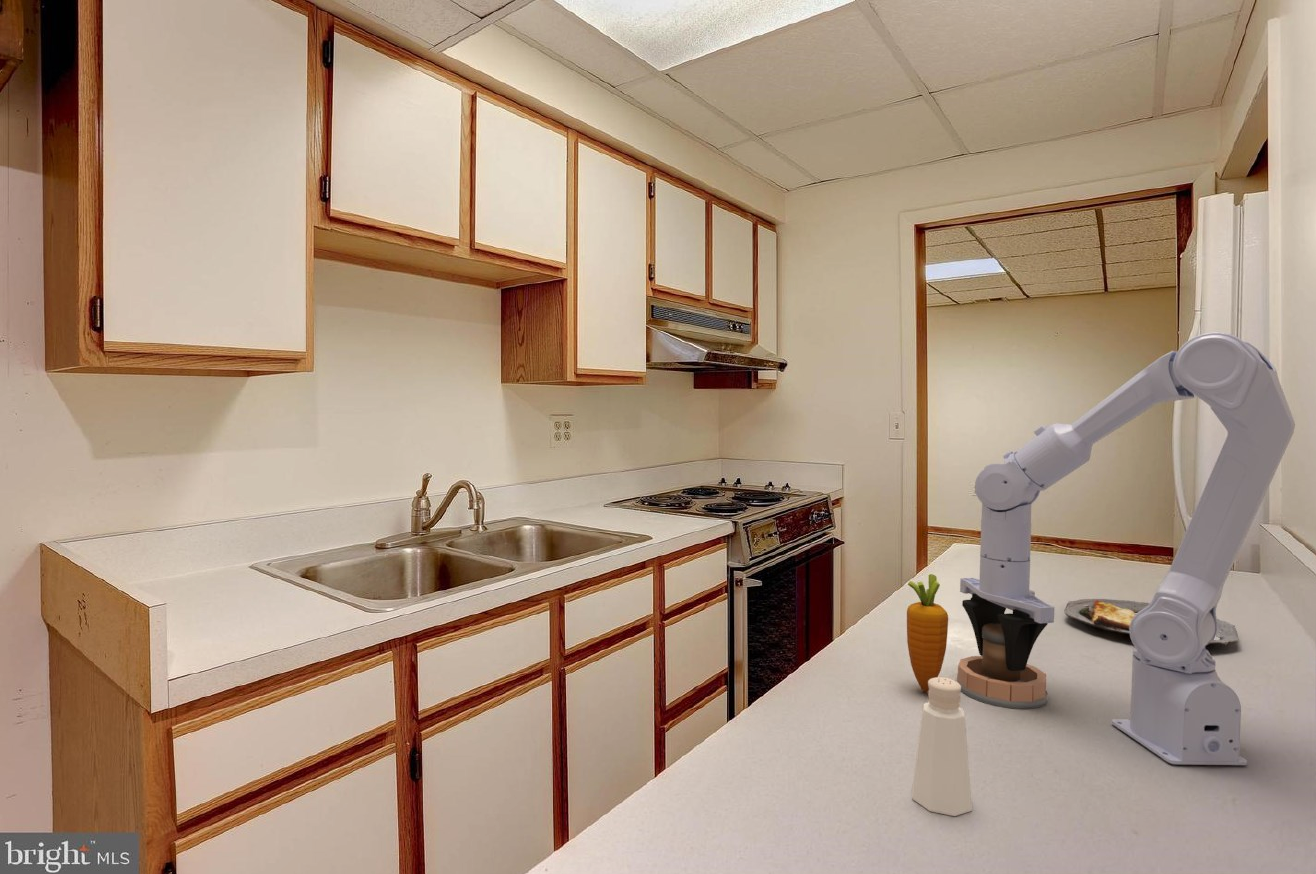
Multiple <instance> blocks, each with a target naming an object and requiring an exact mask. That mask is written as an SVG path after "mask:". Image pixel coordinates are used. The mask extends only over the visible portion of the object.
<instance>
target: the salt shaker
mask: <svg viewBox="0 0 1316 874" xmlns="http://www.w3.org/2000/svg"><path fill="white" fill-rule="evenodd" d="M928 686H929V691H928V702H925V703H923V705H922V712H921V720H920V727H919V735H918V741H917V750H916V758H915V765H914V766H915V767H914V772H913V779H912V780H913V781H912V788H911V789H912V790H911V791H912V795H911V796H912V801H914V802H916V803H917V804H919V805H920V806H921V807H922V808H925V809H926V810H928V811H929V812H932V813H936V814H942V815H946V816H951V817H956V816H961V815H963V814H967V813H970V812H972V810H973V804H972V792H971V791H972V789H971V778H970V777H971V776H970V766H969V751H968V739H967V726H966V716H965V711H964V709H963V708H961V707H960V703H959V702H961V695H960V693H961V685H960V684H959V683H958V682H957V680H953V679H951V678H948V677H942V676H938V677H936V678H931V679H930V680H929V681H928Z"/></svg>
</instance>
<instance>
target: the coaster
mask: <svg viewBox="0 0 1316 874" xmlns="http://www.w3.org/2000/svg"><path fill="white" fill-rule="evenodd" d="M982 659H983V656H981V655H974V656H973V655H972V656H968V657H964V658H961V659H960V660H959V662H958V665H957V677H956V682H958V683H959V684H960V685H961V691H960V693H962V694H963V695H965V696H968V697H969V698H971V699H972V700H973V699H974V700H976V701H979V702H981V703H985V704H988V705H992V706H995V707H996V706H997V707H1001V708H1009V709H1018V710H1028V709H1029V710H1030V709H1036V708H1041V707H1044V706H1045V705H1046V704H1047V703H1048V699H1049V698H1048V695H1049V694H1048V691H1047V674H1046V673H1045V672H1044V671H1042V670H1041V669H1039V668H1037V667H1036V666H1034V665H1032V664H1028V663H1027V665H1026V668H1025V670H1021V673H1020V680H1018V681H1014V682H1007V681H1001V680H995V679H992V678H989V677H987V676H985V675H984V674H983V673H982Z"/></svg>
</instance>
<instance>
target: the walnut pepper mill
mask: <svg viewBox="0 0 1316 874" xmlns="http://www.w3.org/2000/svg"><path fill="white" fill-rule="evenodd" d="M982 638H983V659H982V673H983V674H984V675H985V676H987V677H989V678H992V679H995V680H1001V681H1007V682H1014V681H1018V680H1020V673H1021V671H1010V670H1008V669H1007V665H1006V654H1005V640H1004V634H1003V630H1002V627H1001V624H996V623H991V624H985V625H984V626H983V627H982Z"/></svg>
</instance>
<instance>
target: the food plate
mask: <svg viewBox="0 0 1316 874" xmlns="http://www.w3.org/2000/svg"><path fill="white" fill-rule="evenodd" d="M1150 603H1151V602H1145V601H1144V602H1143V601H1141V602H1139V601H1135V600H1126V599H1125V600H1124V599H1111V598H1110V599H1109V598H1083V599H1078V600H1077V599H1076V600H1068V602H1067V603H1066V606H1065V608H1064V612H1063V613H1064V614H1065V615H1066V616H1067V617H1068V618H1069V619H1072V620H1074V621H1077V622H1080V623H1083V624H1085V625H1088V626H1090V627H1094V628H1098V629H1102V630H1105V631H1106V632H1112V633H1115V632H1116V633H1120V634H1126V635H1130V633H1129V627H1130V623H1131V620H1132V618H1133V617H1134V616H1135V615H1136V614H1135V613H1138V612H1139V611H1141V610H1142V609H1144V608H1145V607H1147V606H1148V605H1149V604H1150ZM1217 622H1218V630H1217V634H1216V637H1218V638H1220V639H1219V640H1214V639H1213V640H1212V641H1211V642H1210V643H1209V644H1208V645H1219V647H1221V645H1223V646H1226V645H1228V643H1229V642H1230V643H1231V644H1235V643H1237V642H1238V641H1240V639H1239V636H1238V631H1237V629H1236V626H1235V625H1234V624H1232V623H1229V622H1227V621H1225V620H1221V619H1219V618H1217ZM1208 645H1207V646H1208Z"/></svg>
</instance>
